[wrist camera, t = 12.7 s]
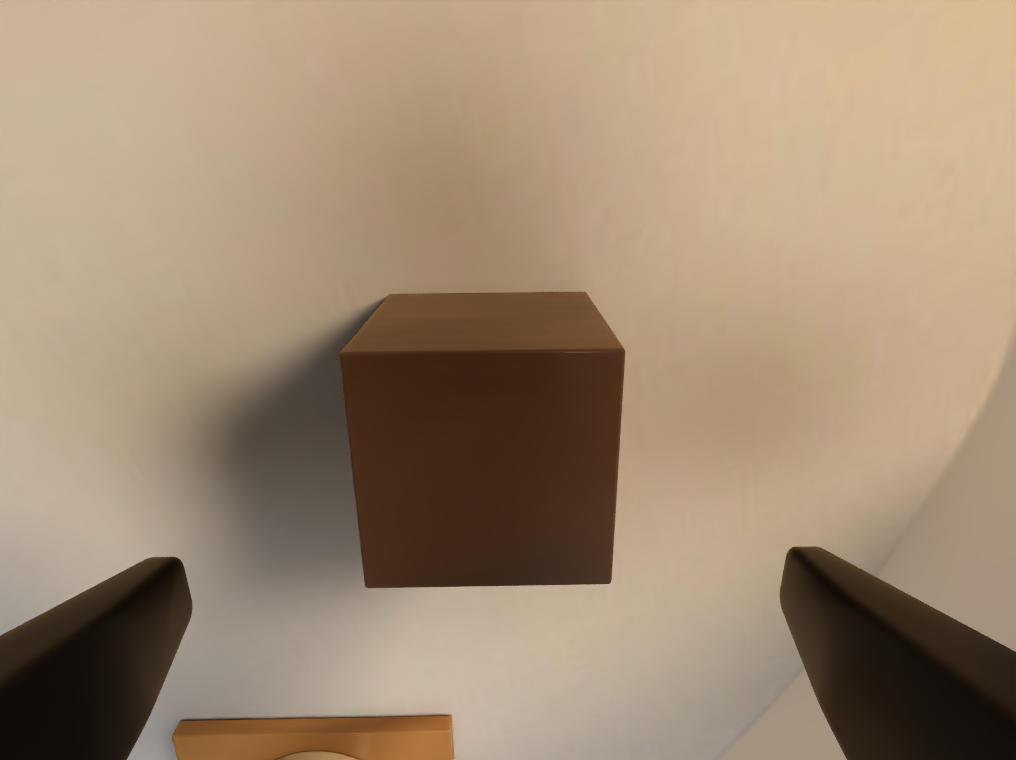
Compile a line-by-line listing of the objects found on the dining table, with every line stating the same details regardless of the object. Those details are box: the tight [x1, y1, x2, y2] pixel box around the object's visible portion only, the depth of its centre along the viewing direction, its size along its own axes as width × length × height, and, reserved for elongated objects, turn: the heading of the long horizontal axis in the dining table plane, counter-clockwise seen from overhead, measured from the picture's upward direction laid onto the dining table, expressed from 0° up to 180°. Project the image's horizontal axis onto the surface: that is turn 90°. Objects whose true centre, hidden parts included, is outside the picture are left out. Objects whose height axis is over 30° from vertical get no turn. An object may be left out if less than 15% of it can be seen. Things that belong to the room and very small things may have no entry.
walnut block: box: [339, 292, 625, 588], centre depth 14 cm, size 5×5×5 cm
